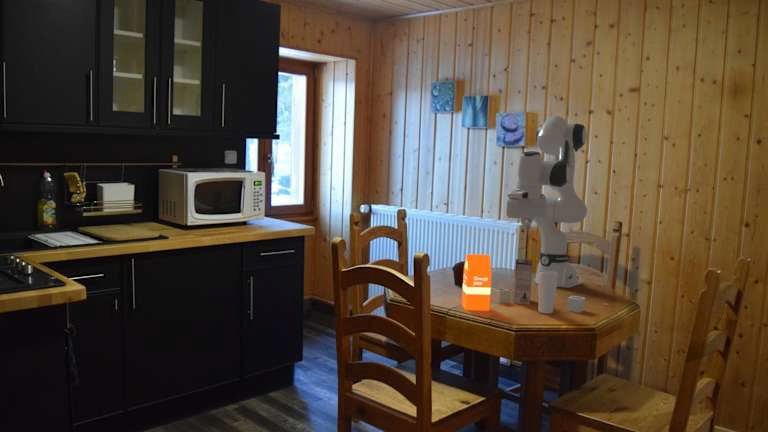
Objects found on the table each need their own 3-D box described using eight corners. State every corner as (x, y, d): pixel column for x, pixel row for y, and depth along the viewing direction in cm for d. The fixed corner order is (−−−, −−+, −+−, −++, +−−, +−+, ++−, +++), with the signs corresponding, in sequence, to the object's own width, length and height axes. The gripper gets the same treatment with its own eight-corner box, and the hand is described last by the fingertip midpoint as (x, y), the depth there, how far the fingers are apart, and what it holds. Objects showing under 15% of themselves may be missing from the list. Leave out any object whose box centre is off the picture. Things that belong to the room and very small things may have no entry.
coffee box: (513, 298, 260) (515, 258, 258) (529, 299, 259) (532, 259, 257) (513, 303, 251) (515, 262, 249) (530, 304, 250) (532, 263, 248)
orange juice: (489, 310, 238) (492, 256, 236) (465, 310, 237) (468, 256, 235) (484, 305, 246) (487, 253, 244) (461, 305, 245) (464, 252, 243)
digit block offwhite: (571, 308, 247) (572, 295, 246) (584, 310, 244) (585, 297, 244) (566, 310, 243) (567, 297, 242) (579, 313, 240) (580, 299, 240)
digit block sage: (501, 300, 256) (501, 287, 256) (509, 303, 252) (510, 289, 251) (490, 301, 254) (491, 288, 253) (499, 303, 249) (499, 290, 249)
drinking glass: (533, 310, 241) (536, 270, 240) (551, 310, 242) (554, 270, 240) (539, 314, 235) (542, 273, 233) (557, 315, 235) (560, 274, 234)
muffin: (479, 283, 287) (480, 261, 286) (477, 288, 276) (478, 265, 275) (452, 281, 290) (454, 259, 289) (449, 285, 279) (450, 262, 278)
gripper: (538, 192, 259) (536, 227, 261) (504, 193, 247) (502, 229, 248) (551, 194, 254) (549, 229, 256) (517, 194, 242) (515, 231, 243)
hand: (526, 229), depth 252 cm, fingers closed
